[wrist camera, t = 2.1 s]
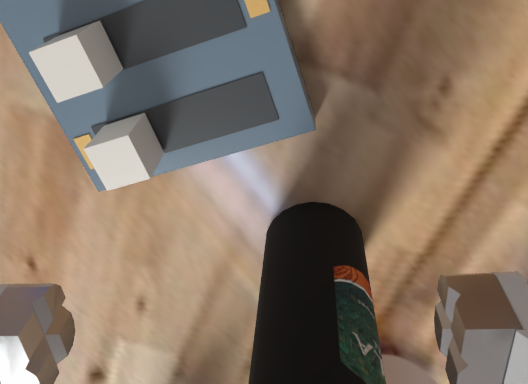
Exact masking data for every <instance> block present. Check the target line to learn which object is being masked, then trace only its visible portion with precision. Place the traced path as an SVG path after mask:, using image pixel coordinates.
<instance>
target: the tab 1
mask: <svg viewBox="0 0 528 384" xmlns="http://www.w3.org/2000/svg"><path fill="white" fill-rule="evenodd" d="M28 53H29V54H30V56H31V58H32V60H33V61H34V63H35V65H36V67H37V68H38V70H39V72H40V74H41V75H42V77H43V79H44V81H45V82H46V84H47V86H48V88H49V89H50V91H51V93H52V95H53V97H54V98H55V100H56V102H57V103H59V102H62V101H65V100H68V99H71V98H74V97H77V96H80V95H83V94H86V93H88V92H91V91H94V90H97V89H100V88H103V87H104V86H105V85H107V84H108V83H109V82H110V81H111V80H112V79H113V78H114V77H115V76H116V75H117V74H118V73H119V72H120V71H121V70H122V69H123V67H122V65H121V63H120V61H119V59H118V57H117V55H116V53H115V50H114V48H113V46H112V44H111V42H110V40H109V38H108V36H107V34H106V32H105V30H104V28H103V26H102V24H101V22H100V21H97V22H94V23H92V24H89V25H86V26H84V27H81V28H78V29H76V30H73V31H70V32H67V33H65V34H62V35H59V36H57V37H55V38H53V39H51V40H50V41H48V42H46V43H44V44H43V45H41V46H39V47H37V48H35V49H34V50H32V51H30V52H28Z"/></svg>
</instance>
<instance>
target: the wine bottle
mask: <svg viewBox="0 0 528 384" xmlns="http://www.w3.org/2000/svg"><path fill="white" fill-rule="evenodd" d="M249 384H386V381H385V375H384V369H383V362H382V356H381V350H380V344H379V337H378V331H377V325H376V319H375V312H374V306H373V300H372V294H371V288H370V281H369V275H368V269H367V263H366V256H365V250H364V244H363V238H362V232H361V229H360V227H359V226H358V224H357V223H356V221H355V219H354V218H353V217H351V216H350V215H349V214H348V213H346V212H345V211H344V210H343V209H340V208H338V207H335V206H333V205H330V204H325V203H316V202H310V203H304V204H298V205H295V206H293V207H291V208H289V209H287V210H285V211H283V212H282V213H281V214H280V215H278V216H277V217H276V218H275V219H274V220H273V221H272V223H271V225H270V227H269V229H268V231H267V235H266V244H265V252H264V260H263V269H262V277H261V285H260V294H259V302H258V310H257V319H256V327H255V335H254V344H253V352H252V360H251V369H250V377H249Z"/></svg>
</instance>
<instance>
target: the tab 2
mask: <svg viewBox="0 0 528 384" xmlns="http://www.w3.org/2000/svg"><path fill="white" fill-rule="evenodd" d="M84 151H85V153H86V155H87V156H88V158H89V160H90V162H91V163H92V165H93V167H94V169H95V170H96V172H97V174H98V176H99V177H100V179H101V181H102V183H103V184H104V186H105V188H106V190H107V191H108V190H112V189H115V188H119V187H122V186H126V185H129V184H133V183H137V182H140V181H144V180H147V179H150V178H151V176H152V175H153V173H154V171H155V169H156V167H157V166H158V164H159V162H160V160H161V158H162V156H163V155H164V151H163V149H162V147H161V145H160V143H159V141H158V139H157V137H156V135H155V133H154V131H153V129H152V127H151V125H150V123H149V121H148V118H147V116H146V114H145V113H142V114H139V115H136V116H133V117H130V118H126V119H123V120H120V121H117V122H114V123H111V124H108V125H104V126H103V127H102V128H101V129H100V131H99V132H98V133H97V134H96V135H95V136H94V137H93V139H92V140H91V141H90V142H89V143H88V144H87V145H86V147H85V148H84Z"/></svg>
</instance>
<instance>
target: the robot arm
mask: <svg viewBox="0 0 528 384" xmlns="http://www.w3.org/2000/svg"><path fill="white" fill-rule="evenodd" d="M437 290H438V293H439V296H440V299H441V301H440V302H439V303H438V304H437V305H436V306H435V316H434V323H435V334H436V340H437V344H438V347H439V350H440V352H441V353H442V354H443V355H444V356H446V357H447V362H446V369H445V370H446V373H447V376H448V379H449V382H450V384H528V284H527V283H526V281H525V279H524V278H523V276H522V274H520V273H519V272H517V271H515V272H493V273H479V274H446V275H440V278H439V281H438V289H437ZM64 300H65V295H64V293H63V290H62V288H61V286H59V285H57V284H0V384H54V382H55V380H56V378H57V376H58V374H59V370H58V367H57V363H59V362H60V361H61V360H63V359H64V358H65V357H67V356H68V354H69V352H70V350H71V348H72V346H73V341H74V335H75V326H74V320H73V317H72V314H71V312H69V311H68V310H67V309H66V308H64V307H63V306H62V304H63V302H64Z"/></svg>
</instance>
